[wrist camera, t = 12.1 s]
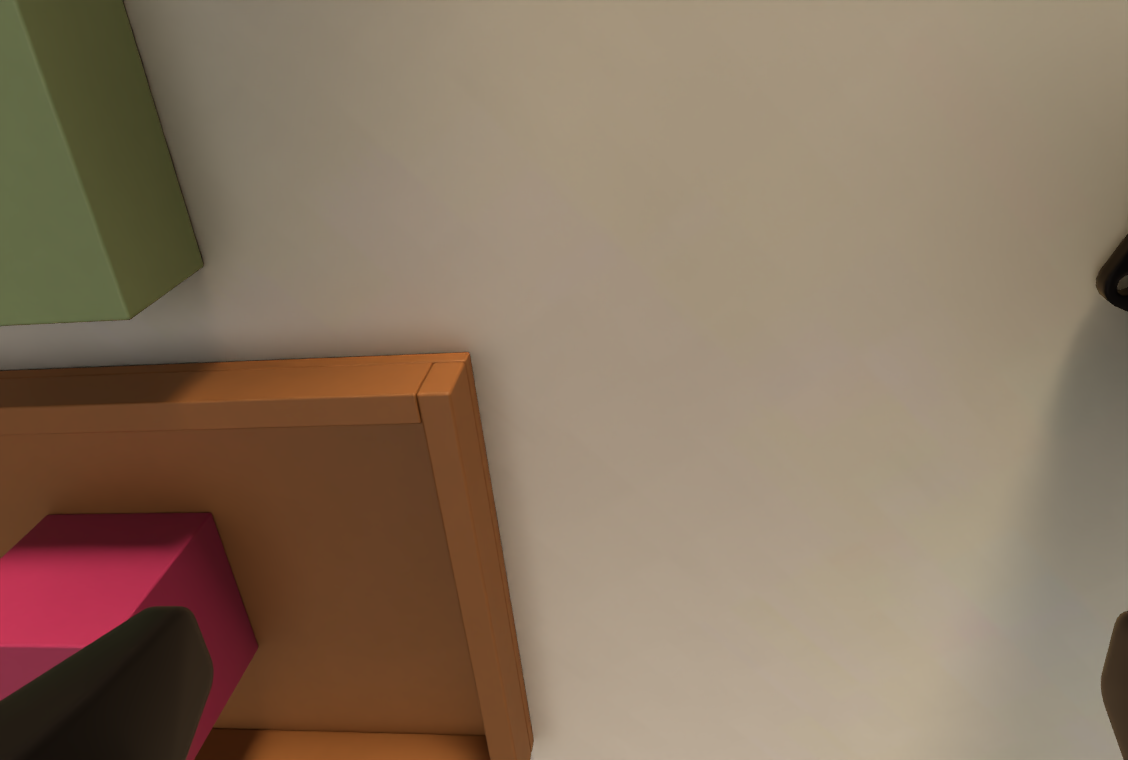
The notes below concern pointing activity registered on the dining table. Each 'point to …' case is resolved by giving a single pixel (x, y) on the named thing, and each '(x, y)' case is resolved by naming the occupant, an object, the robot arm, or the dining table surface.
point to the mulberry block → (119, 593)
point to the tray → (306, 537)
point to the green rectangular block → (83, 170)
